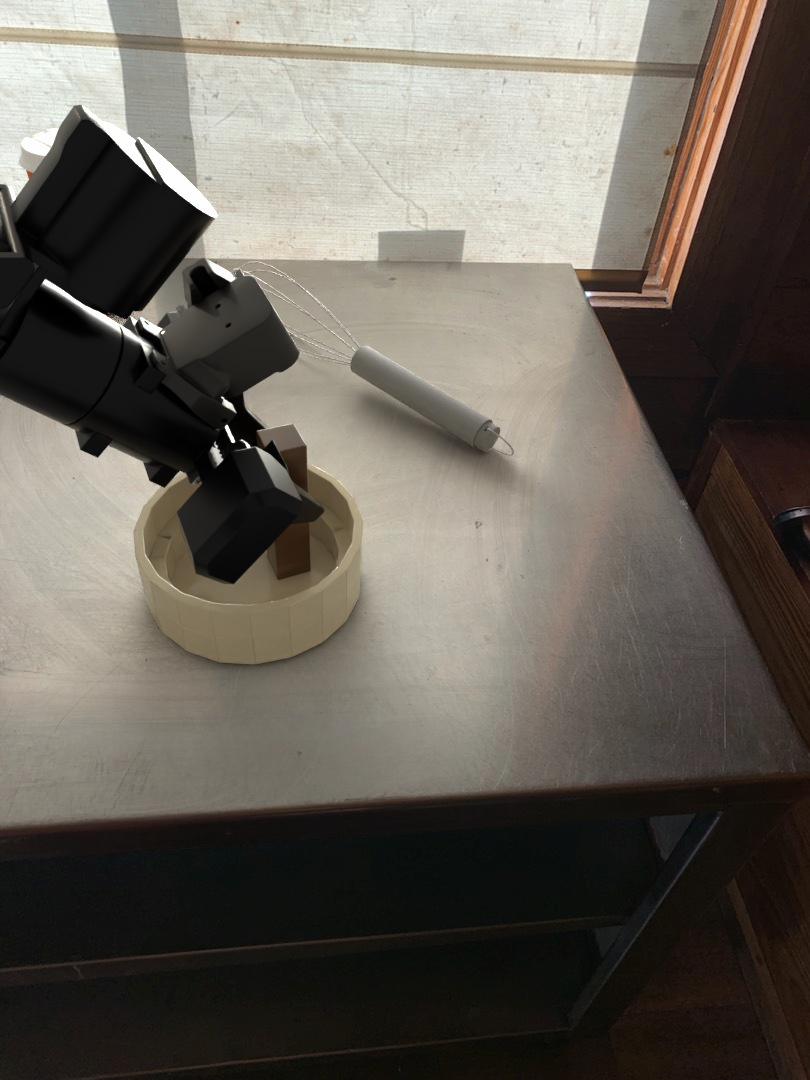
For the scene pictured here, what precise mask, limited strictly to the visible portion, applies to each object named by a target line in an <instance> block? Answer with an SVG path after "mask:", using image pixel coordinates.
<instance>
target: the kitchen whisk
mask: <svg viewBox="0 0 810 1080" xmlns="http://www.w3.org/2000/svg"><path fill="white" fill-rule="evenodd" d="M248 264H260V265H264V266H266V267H269V268H272V269H273V270H274V271H277V272H278V273H277V272H274V271H272V270H263V269H255V270H251V271H245V270H243V269H242V268H244V267H245V266H247V265H248ZM238 269H241V271H242V272H243V274H244V275H247V276H253V277H254V278H255V279H256V280H257V281H258V282H259V281H260V283H262V284H264V285H266V286H267V287H269V288H270V289H271V290H273V291H275V292H276V293H277V294H279V295H281V296H279V295H277V294H276V293H274V292H273V291H270V290H267V289H265V288H263V287H261V288H262V290H263V291H264V292H265V293H268V294H271V295H272V296H274V297H276V298H278V299H280V300H283V301H284V302H286V303H287V304H288V305H291V306H292V307H294V308H295V309H298V310H299V311H300V312H301V313H303V314H305V315H306V316H308V317H309V318H311V319H312V320H313V321H315V322H316V323H317V324H318V325H321V326H322V327H323V328H325V329H326V330H327V332H329V333H330V334H332V335H333V336H334V337H336V339H338V340H339V341H341V342H342V343H343V344H344V345H346V346H347V347H348V348H349V349H351V350H352V351H353V352H354V354H353V355H352V356H351V355H349V354H347V353H345V352H342V351H340V350H338V349H336V348H334V347H332V346H329V345H328V344H326V343H324V342H321V341H320V340H318V339H315V338H313V337H312V336H309V335H307V334H306V333H303V332H301V331H299V330H297V329H295V328H293V327H291V326H289V325H288V324H285V323H284V322H283V324H284V325H285V327H286V328H289V329H290V330H292V331H294V332H296V333H298V334H300V335H302V336H304V337H307V338H308V339H310V340H313V341H314V342H316V343H318V344H320V345H323V346H324V347H327V348H328V349H326V348H323V347H321V346H319V345H318V344H315V343H313V342H310V341H309V340H307V339H304V338H303V337H300V336H298V335H296V334H294V333H293V332H291V331H290V330H288V332H289V334H290V335H292V336H294V337H296V338H297V339H300V340H301V341H303V342H305V343H308V344H310V345H311V346H314V347H316V348H318V349H321V350H322V351H325V352H327V353H330V354H333V355H334V356H337V357H339V358H342V359H345V360H341V359H337V358H333V357H329V356H325V355H322V354H318V353H315V352H312V351H309V350H305V349H303V348H299V347H298V349H299V355H302V356H306V357H309V358H313V359H317V360H321V361H324V362H330V363H333V364H338V365H343V366H349V368H350V371H351V372H352V373H354V374H355V375H356V376H358V377H360V378H361V379H363V380H364V381H366V382H367V383H369V384H371V385H372V386H374V387H376V388H377V389H379V390H380V391H382V392H384V393H385V394H387V395H389V396H390V397H392V398H393V399H395V400H397V401H398V402H400V403H401V404H403V405H405V406H407V408H409V409H411V410H413V411H414V412H416V413H418V415H421V416H423V417H424V418H426V419H427V420H429V421H430V422H432V423H434V424H435V425H437V426H438V427H440V428H442V429H444V430H445V431H446V432H448V433H450V434H451V435H453V436H454V437H456V438H458V439H459V440H461V441H462V442H464V443H466V444H467V445H469V446H471V447H472V448H474V449H480V450H481V451H483V452H485V453H486V452H488V451H490V450H493V451H495V452H497V453H500V454H502V455H505V456H509V457H510V456H513V455H514V454H515V451H514V449H513V447H512V445H511V444H510V443H509V442H508V441H507V440H506V439H504V438H503V437H502V436H501V435H500V434H501V427H500V426H498V425H496V424H495V423H494V422H493V420H492V419H491V418H489V417H487V416H485V415H484V414H482V413H481V412H479V411H477V410H476V409H474V408H472V407H471V406H469V405H468V404H465V403H464V402H462V401H461V400H459V399H457V398H455V397H454V396H452V395H450V394H449V393H447V392H445V391H444V390H442V389H441V388H439V387H438V386H436V385H433V384H432V383H430V381H427V380H425V379H424V378H422V377H420V376H419V375H417V374H416V373H414V372H413V371H411V370H409V369H407V368H405V367H403V366H402V365H400V363H397V362H395V361H393V360H392V359H390V358H389V357H387V356H386V355H384V354H382V353H380V352H378V351H376V350H375V349H374V348H372V347H370V346H369V345H362V346H361V345H360V344H359V343H358V341H357V340H356V338H355V337H354V336H353V335H352V333H350V332H349V330H348V329H347V328H346V327H345V326H344V325H343V324H342V322H340V320H339V319H338V318H337V317H336V316H335V315H334V314H333V313H332V312H331V311H330V310H329V309H328V308H327V307H326V306H325V305H324V304H323V303H322V302H321V301H320V300H318V299H317V297H315V296H313V294H312V293H310V292H309V291H308V290H306V289H305V288H304V287H303V286H302V285H301V284H299V283H298V282H296V281H295V280H294V279H293V278H292V277H290V276H289V275H287V274H286V273H285V272H283V271H281V270H279V269H277V268H276V267H274V266H273V265H271V264H268V263H264V262H262V261H247V262H246V263H244V264H243V265H242V266H240V267H238V268H233V269H232V270H231V272H230V273H231V274H232V276H233V277H234V278H237V277H236V276H235V275H234V274H233V273H234V272H235V271H236V270H238ZM255 272H260V273H262V272H263V273H271V274H273V275H276V276H279V277H281V278H284V279H285V280H287V281H289V282H291V283H292V284H294V285H295V286H297V287H298V288H300V289H301V290H303V291H304V292H305V293H306V294H307V295H308V296H310V298H311V299H313V300H314V302H316V303H317V304H318V305H319V306H320V307H321V308H322V309H323V310H324V311H325V312H326V313H327V315H328V316H330V318H331V319H332V320H333V321H334V322H335V323H336V324H337V325H338V326H339V328H341V329H342V331H343V332H344V333H345V334H346V335H347V336H348V338H349V339H350V340H351V341H352V342H353V343H354V345H356V347H357V348H358V349H357V350H356V349H355V348H354V347H353V346H351V345H350V344H349V343H348V342H346V341H345V340H344V339H343V338H342V337H340V336H339V335H338V334H337V333H335V332H334V331H332V330H331V329H330V328H328V327H327V326H326V325H325V324H323V323H322V322H321V321H319V320H318V319H317V318H316V317H314V316H313V315H312V314H310V313H309V312H308V311H307V310H305V309H304V308H303V307H301V306H300V305H299V304H297V303H295V302H294V301H293V300H292V299H290V298H289V297H287V296H286V295H284V293H282V292H280V291H279V290H277V289H276V288H274V287H273V286H271V285H270V284H268V283H267V282H265V281H264V280H262V279H260V278H258V277H257V276H256V275H253V274H252V273H255ZM329 349H331V350H333V351H335V352H333V351H331V350H329ZM338 353H339V354H338ZM346 360H347V361H346ZM499 439H501V440H502V441H503V442H504V443H505V444H506V445H507V446H508V447H509V449H510V450H511V453H507V452H505V451H501V450H500V449H497V448H495V447H494V445H496V443H497V441H498V440H499Z"/></svg>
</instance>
